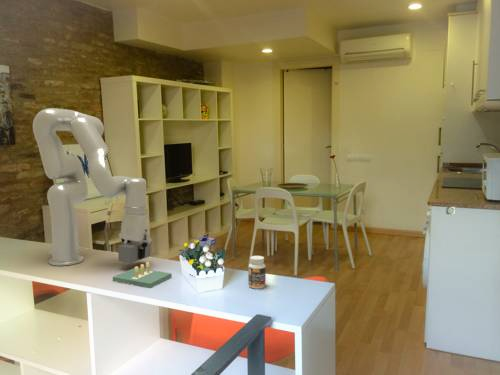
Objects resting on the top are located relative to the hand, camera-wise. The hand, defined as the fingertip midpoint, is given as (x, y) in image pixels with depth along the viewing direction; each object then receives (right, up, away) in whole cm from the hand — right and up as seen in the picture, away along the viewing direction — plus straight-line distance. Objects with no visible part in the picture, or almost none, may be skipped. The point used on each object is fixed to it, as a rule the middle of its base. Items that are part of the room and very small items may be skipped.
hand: (134, 256), depth 169 cm
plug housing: (0, -1, 0) cm, 1 cm away
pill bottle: (+46, -7, -21) cm, 51 cm away
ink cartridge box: (+27, -5, -6) cm, 28 cm away
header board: (+6, -6, -14) cm, 17 cm away
